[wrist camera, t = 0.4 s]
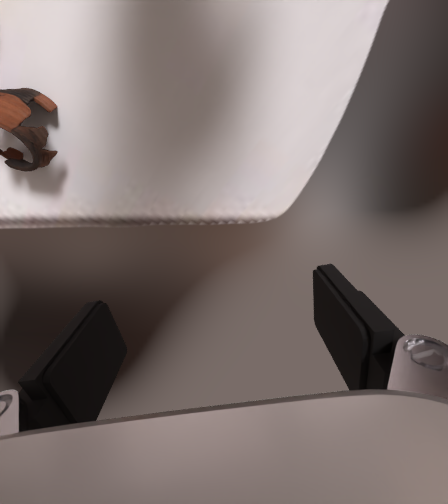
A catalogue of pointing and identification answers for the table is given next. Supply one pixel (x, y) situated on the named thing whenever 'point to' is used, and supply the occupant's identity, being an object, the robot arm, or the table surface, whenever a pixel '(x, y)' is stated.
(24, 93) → the pottery mug
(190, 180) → the table surface
